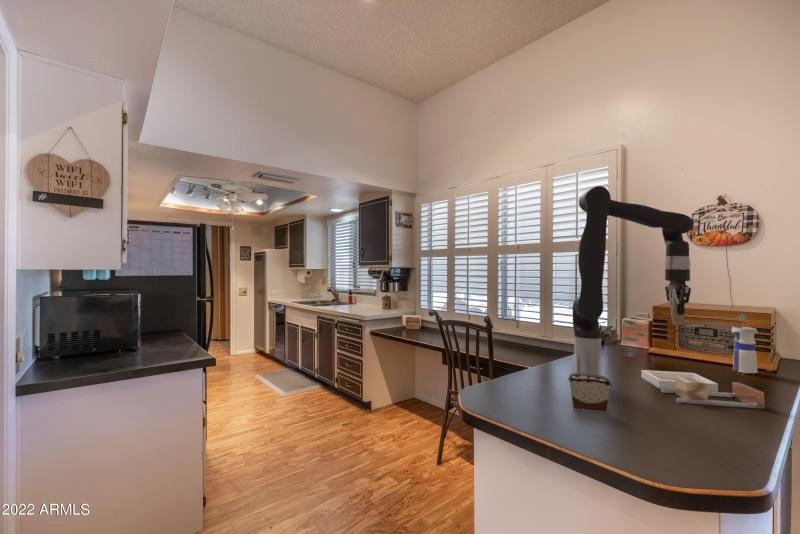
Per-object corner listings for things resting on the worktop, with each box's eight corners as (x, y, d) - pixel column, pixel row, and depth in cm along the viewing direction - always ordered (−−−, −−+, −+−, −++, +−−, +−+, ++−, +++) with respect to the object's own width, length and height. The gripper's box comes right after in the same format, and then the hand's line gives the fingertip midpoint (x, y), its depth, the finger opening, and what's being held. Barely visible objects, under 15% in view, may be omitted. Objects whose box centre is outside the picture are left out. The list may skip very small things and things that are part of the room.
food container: (608, 406, 113) (608, 374, 113) (613, 413, 107) (612, 379, 107) (565, 401, 117) (565, 370, 117) (567, 408, 111) (567, 375, 111)
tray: (659, 389, 130) (659, 380, 130) (641, 378, 144) (641, 370, 145) (718, 393, 126) (717, 383, 127) (694, 381, 140) (694, 373, 141)
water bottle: (725, 369, 158) (725, 313, 159) (747, 370, 157) (746, 313, 158) (740, 374, 150) (740, 315, 151) (763, 375, 149) (763, 315, 150)
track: (677, 402, 117) (677, 387, 117) (661, 391, 127) (661, 377, 127) (764, 408, 112) (764, 392, 112) (739, 397, 122) (739, 382, 122)
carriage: (686, 400, 118) (686, 382, 118) (675, 393, 125) (675, 376, 125) (708, 402, 117) (707, 383, 117) (695, 395, 123) (695, 377, 123)
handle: (670, 323, 139) (670, 284, 140) (690, 325, 134) (690, 285, 134) (664, 324, 137) (664, 284, 137) (685, 326, 131) (685, 285, 132)
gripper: (657, 268, 144) (657, 311, 143) (675, 268, 130) (675, 315, 129) (678, 268, 142) (678, 312, 142) (699, 268, 128) (700, 316, 128)
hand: (677, 313), depth 135 cm, fingers closed on handle, 4 cm apart
